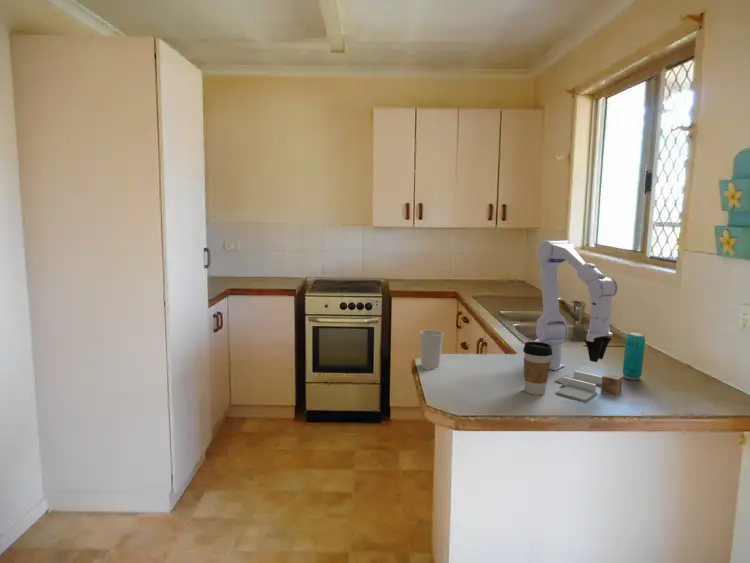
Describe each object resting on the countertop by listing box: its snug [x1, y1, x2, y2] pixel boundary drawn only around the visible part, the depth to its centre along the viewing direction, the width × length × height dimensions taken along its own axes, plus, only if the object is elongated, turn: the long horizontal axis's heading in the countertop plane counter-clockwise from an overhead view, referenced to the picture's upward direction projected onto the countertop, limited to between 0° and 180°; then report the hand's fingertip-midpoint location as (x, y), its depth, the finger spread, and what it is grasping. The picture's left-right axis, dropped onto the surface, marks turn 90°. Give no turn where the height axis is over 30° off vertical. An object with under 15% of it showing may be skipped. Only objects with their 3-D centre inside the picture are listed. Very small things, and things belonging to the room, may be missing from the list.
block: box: [600, 372, 624, 396], centre depth 165 cm, size 4×4×5 cm
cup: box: [419, 329, 444, 370], centre depth 185 cm, size 8×8×12 cm
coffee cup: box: [522, 341, 552, 396], centre depth 163 cm, size 8×8×15 cm
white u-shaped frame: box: [554, 370, 603, 392], centre depth 172 cm, size 13×10×2 cm
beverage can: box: [622, 331, 646, 381], centre depth 178 cm, size 6×6×15 cm
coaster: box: [555, 385, 598, 403], centre depth 163 cm, size 9×9×1 cm
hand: (596, 359), depth 168 cm, fingers open, 4 cm apart
